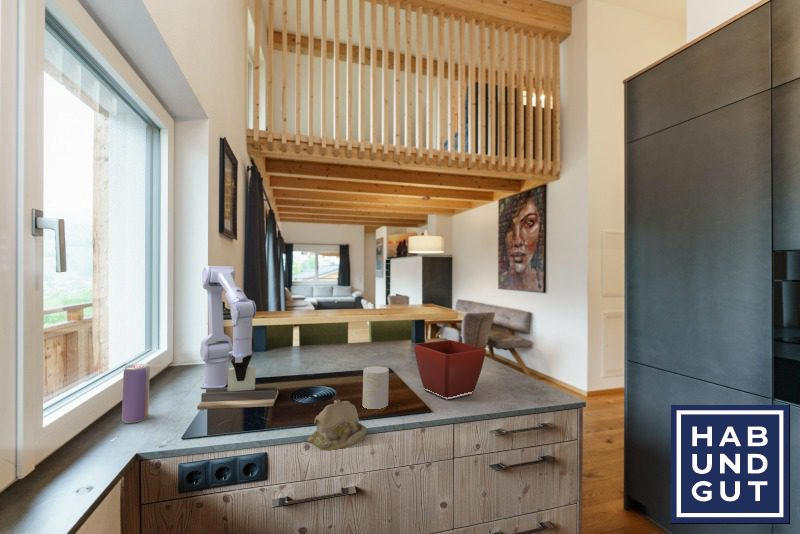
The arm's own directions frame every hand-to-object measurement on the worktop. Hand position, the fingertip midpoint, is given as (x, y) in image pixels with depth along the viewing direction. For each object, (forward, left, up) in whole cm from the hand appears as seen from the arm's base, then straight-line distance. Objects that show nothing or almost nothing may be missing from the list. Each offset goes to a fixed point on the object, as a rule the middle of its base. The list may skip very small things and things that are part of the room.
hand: (241, 379), depth 117 cm
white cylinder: (+11, +43, -7) cm, 45 cm away
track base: (0, 0, -7) cm, 7 cm away
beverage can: (+12, -25, -7) cm, 29 cm away
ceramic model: (+31, +31, -7) cm, 44 cm away
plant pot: (0, +71, -7) cm, 71 cm away
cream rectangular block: (0, 0, -3) cm, 3 cm away
